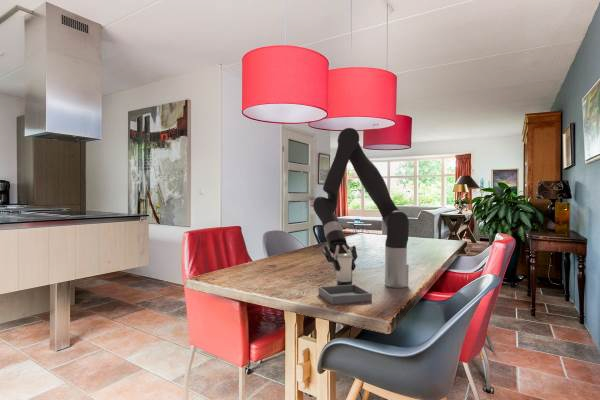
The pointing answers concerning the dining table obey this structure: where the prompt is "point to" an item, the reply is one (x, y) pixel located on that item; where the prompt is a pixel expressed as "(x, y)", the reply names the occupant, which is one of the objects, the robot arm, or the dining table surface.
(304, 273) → the dining table surface
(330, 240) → the robot arm
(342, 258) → the green capped canister
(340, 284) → the supplement bottle
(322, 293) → the tray
